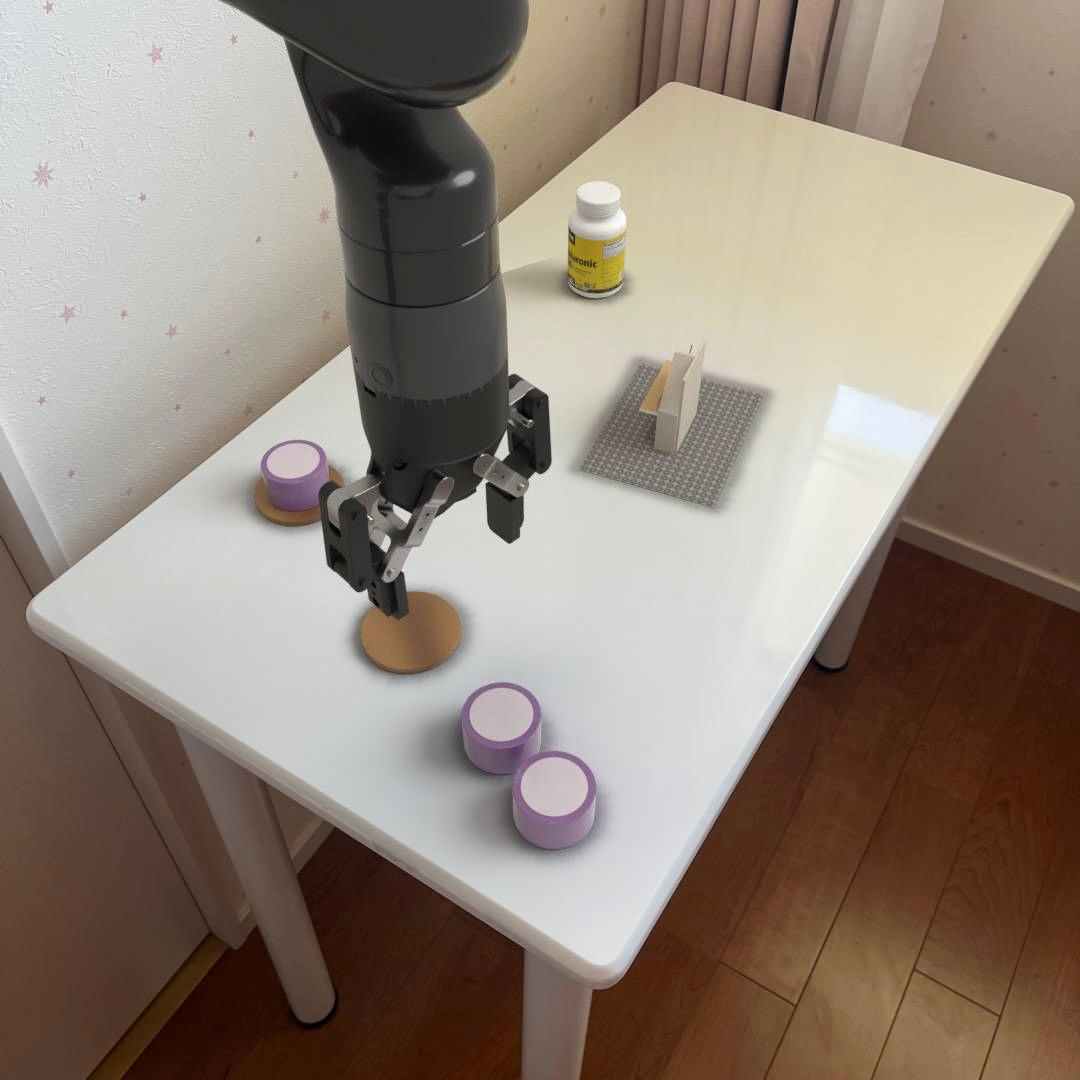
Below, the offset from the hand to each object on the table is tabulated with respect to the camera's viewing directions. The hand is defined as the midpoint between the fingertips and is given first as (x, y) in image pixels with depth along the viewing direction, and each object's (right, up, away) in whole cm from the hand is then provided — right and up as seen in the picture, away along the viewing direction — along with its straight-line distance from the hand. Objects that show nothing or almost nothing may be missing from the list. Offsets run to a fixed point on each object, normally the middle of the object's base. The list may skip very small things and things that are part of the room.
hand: (449, 570), depth 65 cm
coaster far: (-14, +5, +22) cm, 26 cm away
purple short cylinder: (-14, +6, +22) cm, 26 cm away
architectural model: (+17, +11, +27) cm, 34 cm away
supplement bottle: (+11, +27, +42) cm, 51 cm away
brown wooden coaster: (-4, -5, +12) cm, 14 cm away
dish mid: (+3, -11, +6) cm, 13 cm away
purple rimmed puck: (+6, -15, +3) cm, 16 cm away
